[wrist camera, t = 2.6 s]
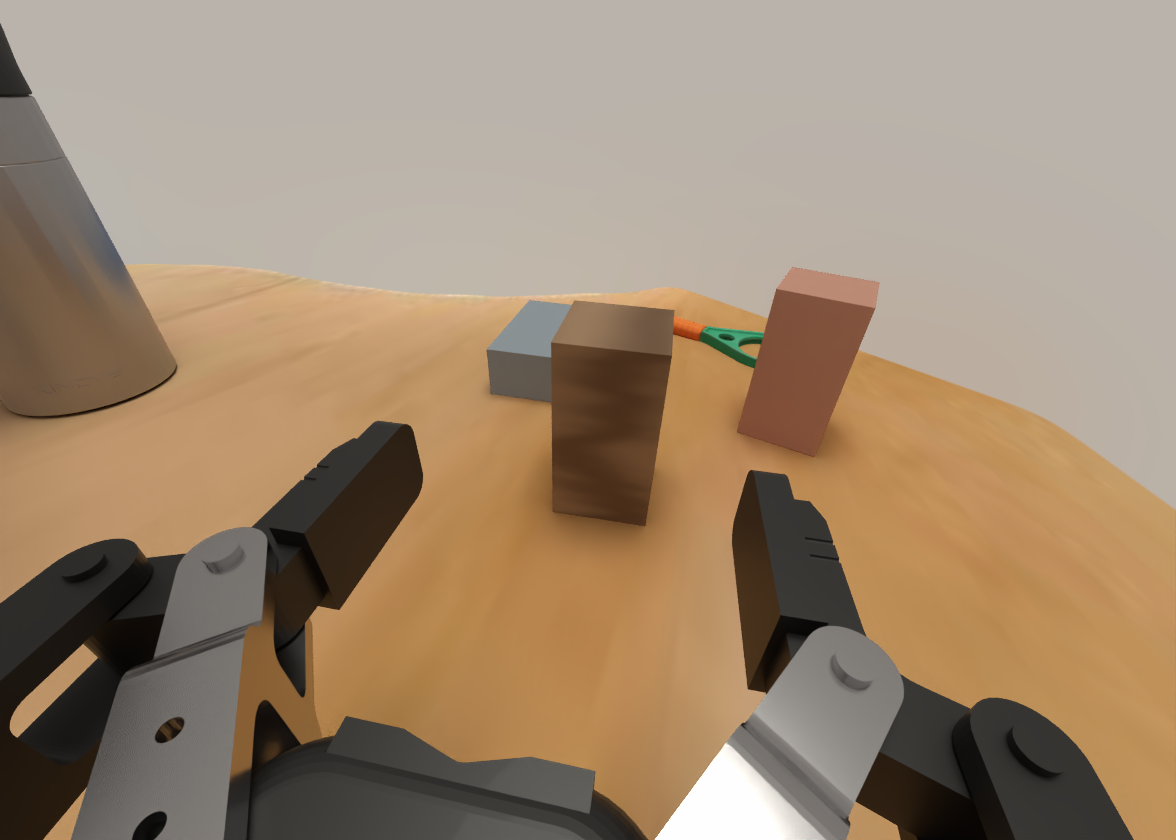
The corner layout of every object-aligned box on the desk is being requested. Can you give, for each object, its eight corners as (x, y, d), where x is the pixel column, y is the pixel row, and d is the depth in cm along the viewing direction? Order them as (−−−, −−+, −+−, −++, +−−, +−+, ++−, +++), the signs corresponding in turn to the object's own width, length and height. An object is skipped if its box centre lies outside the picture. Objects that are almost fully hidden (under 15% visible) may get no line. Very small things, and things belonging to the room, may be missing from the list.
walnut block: (552, 511, 25) (551, 342, 19) (571, 454, 29) (574, 300, 23) (645, 525, 24) (672, 355, 19) (650, 465, 28) (674, 310, 23)
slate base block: (491, 397, 35) (486, 349, 32) (531, 342, 43) (529, 300, 40) (622, 416, 33) (627, 367, 31) (638, 355, 41) (642, 312, 39)
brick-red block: (736, 432, 32) (776, 288, 26) (754, 399, 35) (792, 266, 29) (814, 456, 30) (875, 308, 24) (824, 419, 33) (879, 282, 27)
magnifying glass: (808, 357, 42) (814, 340, 41) (792, 384, 38) (798, 366, 37) (659, 317, 49) (661, 301, 48) (631, 336, 45) (633, 320, 44)
